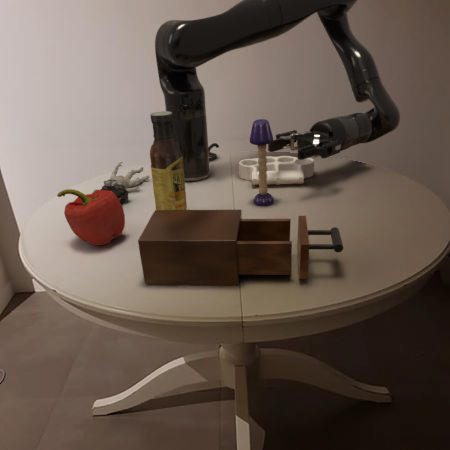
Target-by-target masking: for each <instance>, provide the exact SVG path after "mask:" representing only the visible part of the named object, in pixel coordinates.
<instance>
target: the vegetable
mask: <svg viewBox="0 0 450 450" xmlns="http://www.w3.org/2000/svg"><path fill="white" fill-rule="evenodd" d="M96 190H97V191H95V192H94V191H93V192H94V193H93V192H92V193H93V194H92V193H87V194H85V193H83V192H81V191H79V190H76V189H70V188H67V189H63V190H61V191H59V192H58V193H57V195H56V196H57V197H58V198H61V197H65V196H66V195H73V196H75V197H76V198H75V199H74V200H73V201H70V202H68V203H67V204H66V205H65V206H64V212H63V214H64V218H65V220H66V222H67V224H68V226H69V228H70V229H71V231H72V232H73V234H75V236H76V237H77V238H79V239H80V240H82V241H83V242H87V243H90V244H91V245H92V246H102V245H103V246H104V245H107V244H109V243H110V242H111V241H112V240H113V239H114V238H118V237H119V236H121V235H122V234H123V231H124V229H125V227H126V218H125V217H126V216H125V212H124V208H123V206H122V203H121V200H119V199H118V198H117V196H116V195H115V194H114V193H113V192H112V191H108V190H100V189H96Z"/></svg>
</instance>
